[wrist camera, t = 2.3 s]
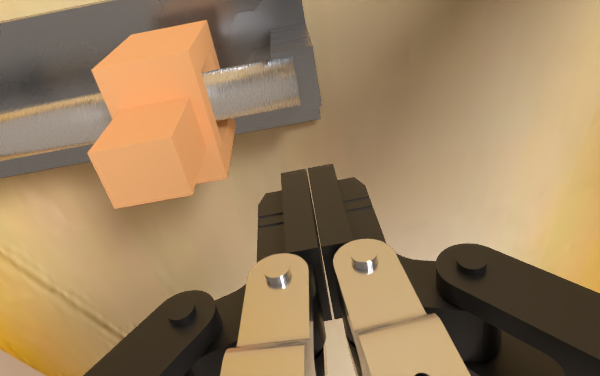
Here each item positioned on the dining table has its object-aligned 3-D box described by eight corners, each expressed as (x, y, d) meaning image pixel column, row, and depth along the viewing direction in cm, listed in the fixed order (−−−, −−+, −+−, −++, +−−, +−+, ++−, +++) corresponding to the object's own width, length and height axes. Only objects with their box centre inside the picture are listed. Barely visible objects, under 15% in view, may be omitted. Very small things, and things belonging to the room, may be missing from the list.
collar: (206, 19, 23) (168, 84, 14) (236, 125, 26) (218, 230, 17) (131, 34, 23) (48, 107, 14) (169, 138, 26) (120, 247, 18)
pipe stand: (295, -38, 24) (303, -20, 18) (319, 114, 29) (332, 169, 23) (-152, 52, 25) (-290, 98, 19) (-58, 183, 30) (-143, 254, 24)
